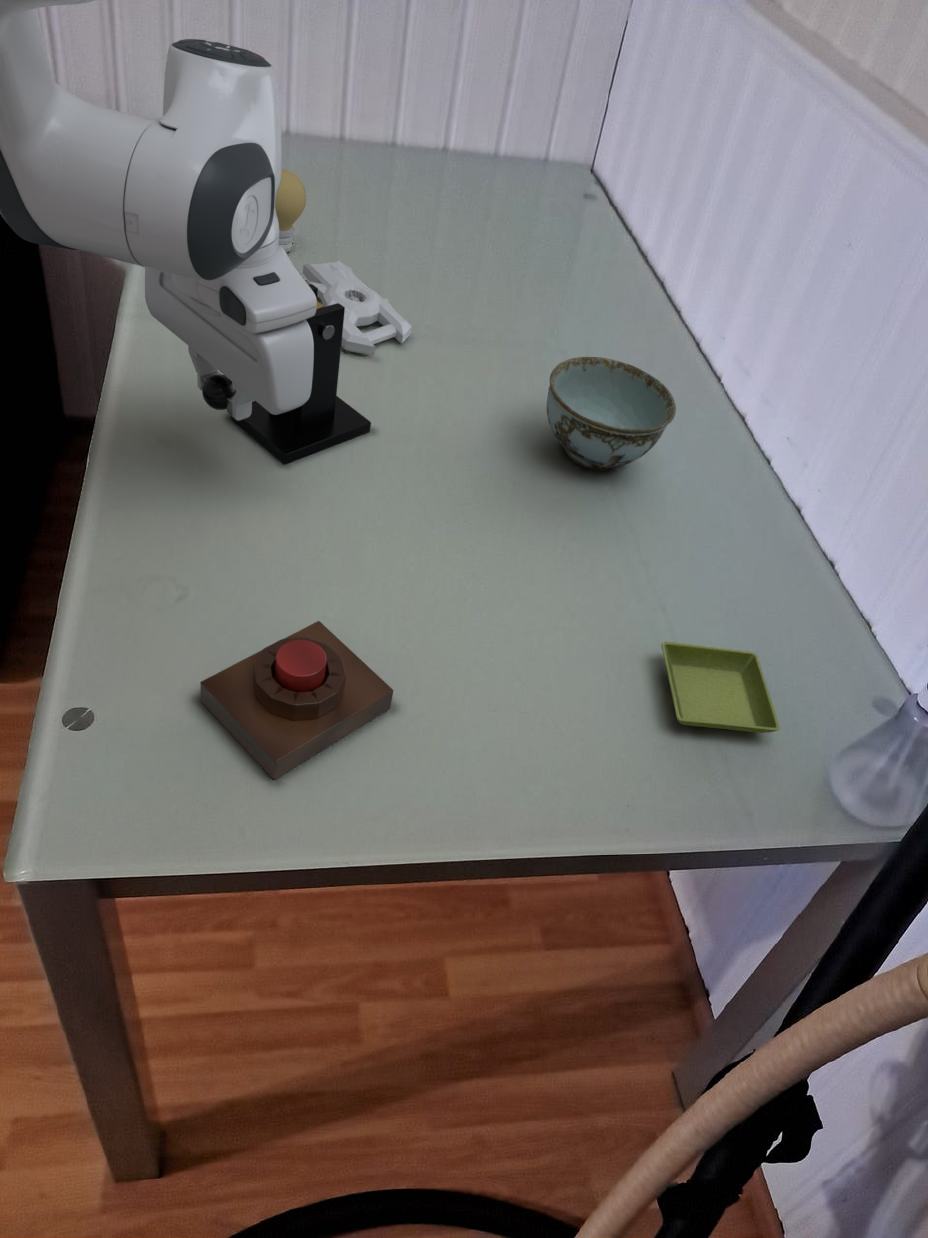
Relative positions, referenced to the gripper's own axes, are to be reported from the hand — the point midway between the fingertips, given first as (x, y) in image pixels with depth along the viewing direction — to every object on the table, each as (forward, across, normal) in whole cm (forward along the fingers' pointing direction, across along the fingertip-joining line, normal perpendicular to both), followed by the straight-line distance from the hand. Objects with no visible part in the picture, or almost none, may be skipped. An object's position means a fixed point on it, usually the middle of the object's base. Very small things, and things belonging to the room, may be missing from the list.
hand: (224, 403), depth 89 cm
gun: (+6, -15, +28) cm, 33 cm away
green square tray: (+6, +49, +14) cm, 51 cm away
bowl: (+6, +20, +33) cm, 39 cm away
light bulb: (+6, -33, +31) cm, 46 cm away
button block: (+5, +29, -14) cm, 33 cm away
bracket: (+6, 0, +9) cm, 11 cm away
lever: (-2, 0, +5) cm, 6 cm away
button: (+2, +29, -14) cm, 32 cm away
